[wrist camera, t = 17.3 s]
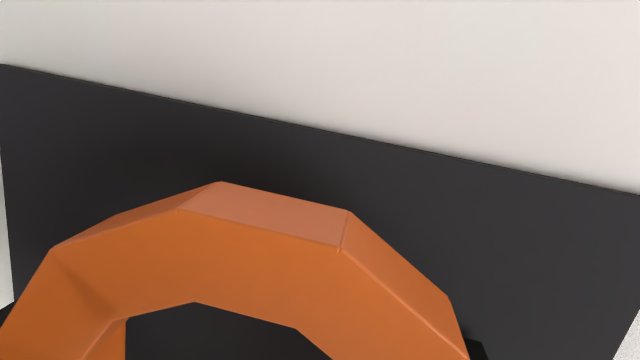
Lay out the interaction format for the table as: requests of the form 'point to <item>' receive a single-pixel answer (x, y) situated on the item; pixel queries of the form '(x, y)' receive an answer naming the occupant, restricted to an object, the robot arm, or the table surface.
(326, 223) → the ring
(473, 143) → the table surface
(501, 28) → the table surface
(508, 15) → the table surface
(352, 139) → the mat
